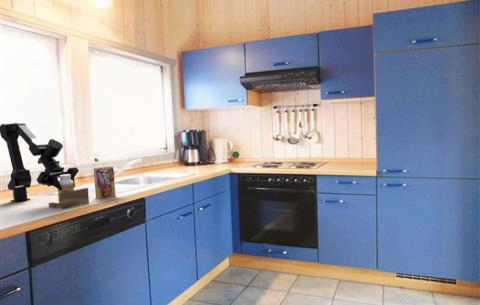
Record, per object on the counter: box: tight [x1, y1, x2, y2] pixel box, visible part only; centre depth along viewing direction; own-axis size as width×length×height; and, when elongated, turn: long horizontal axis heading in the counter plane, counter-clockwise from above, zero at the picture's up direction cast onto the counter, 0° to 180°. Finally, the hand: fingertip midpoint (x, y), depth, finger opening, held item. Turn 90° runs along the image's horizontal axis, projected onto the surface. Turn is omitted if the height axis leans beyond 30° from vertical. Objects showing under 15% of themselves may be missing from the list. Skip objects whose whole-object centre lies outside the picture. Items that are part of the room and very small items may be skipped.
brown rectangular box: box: [48, 187, 90, 210], centre depth 169 cm, size 10×14×7 cm
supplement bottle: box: [57, 174, 75, 203], centre depth 169 cm, size 7×7×13 cm
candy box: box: [93, 166, 117, 200], centre depth 185 cm, size 9×4×15 cm, turn 129°
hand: (68, 188), depth 168 cm, fingers closed on supplement bottle, 6 cm apart
